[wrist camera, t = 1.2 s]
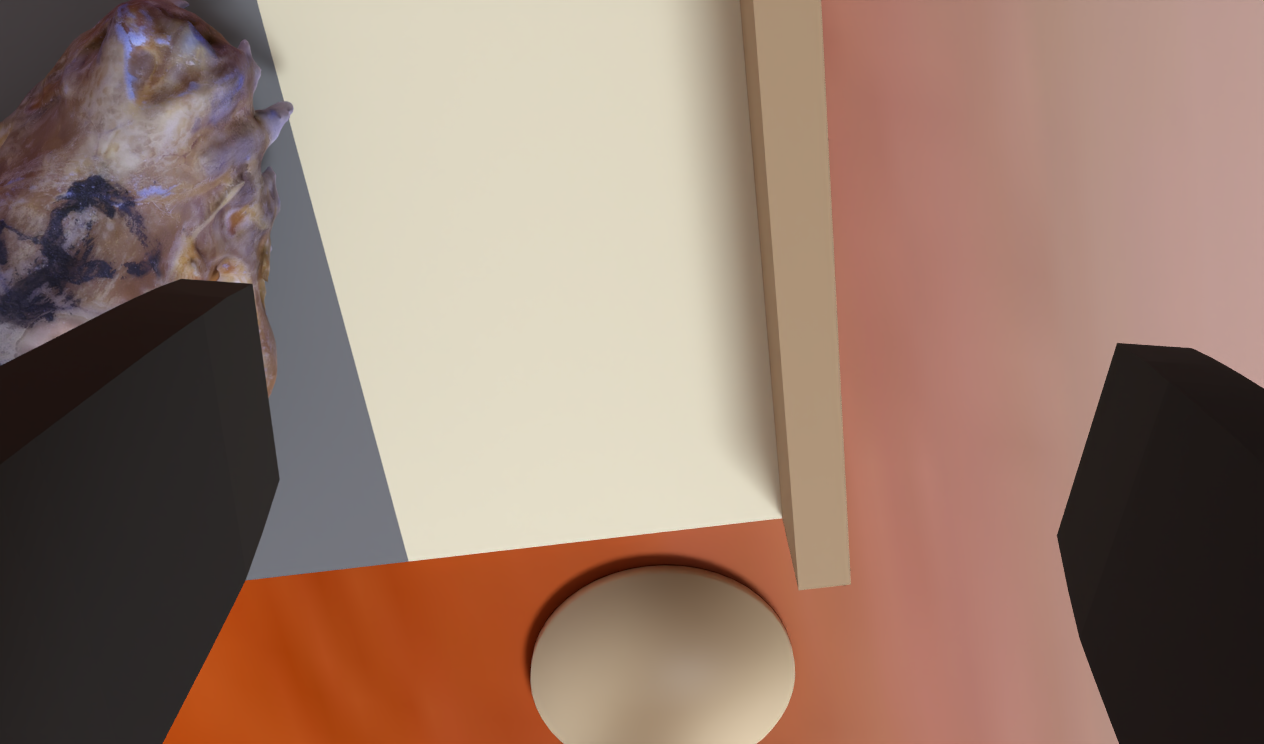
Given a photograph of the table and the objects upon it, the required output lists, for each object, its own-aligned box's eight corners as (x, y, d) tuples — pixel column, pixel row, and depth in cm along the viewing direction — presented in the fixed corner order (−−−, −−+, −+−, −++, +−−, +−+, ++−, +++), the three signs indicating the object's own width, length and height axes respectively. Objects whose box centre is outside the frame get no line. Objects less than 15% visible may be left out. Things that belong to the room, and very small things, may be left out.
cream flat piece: (4, 602, 26) (-55, 686, 23) (-321, -72, 19) (-448, -47, 17) (828, 506, 25) (850, 583, 23) (784, -231, 18) (808, -229, 16)
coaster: (553, 778, 28) (553, 787, 28) (510, 581, 26) (509, 590, 25) (801, 751, 28) (802, 760, 28) (784, 550, 25) (785, 559, 25)
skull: (90, -122, 19) (-121, -68, 13) (475, 178, 21) (430, 325, 16) (-214, 384, 23) (-469, 582, 17) (138, 586, 25) (10, 813, 20)
